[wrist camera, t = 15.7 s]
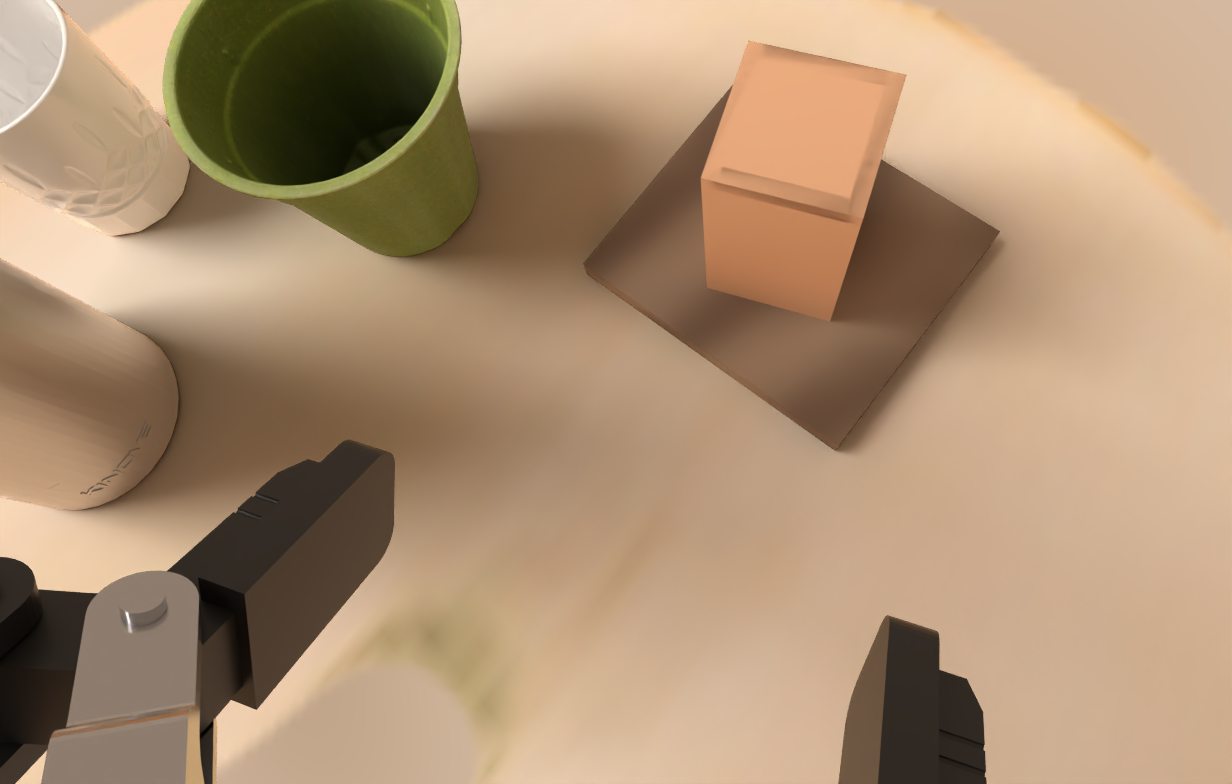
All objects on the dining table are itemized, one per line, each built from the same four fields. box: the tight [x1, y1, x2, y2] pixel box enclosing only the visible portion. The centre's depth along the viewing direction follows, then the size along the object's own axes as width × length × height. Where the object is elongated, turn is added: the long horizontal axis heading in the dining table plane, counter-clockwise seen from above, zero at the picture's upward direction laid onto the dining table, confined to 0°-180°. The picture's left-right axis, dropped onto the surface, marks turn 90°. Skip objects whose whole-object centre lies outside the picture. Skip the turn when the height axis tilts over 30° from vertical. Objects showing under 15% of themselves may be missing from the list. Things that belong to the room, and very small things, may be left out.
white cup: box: [0, 0, 190, 236], centre depth 42 cm, size 8×8×10 cm
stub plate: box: [584, 85, 1000, 451], centre depth 39 cm, size 14×12×6 cm
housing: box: [701, 41, 906, 321], centre depth 36 cm, size 6×6×10 cm
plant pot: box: [163, 0, 478, 256], centre depth 39 cm, size 12×12×11 cm
